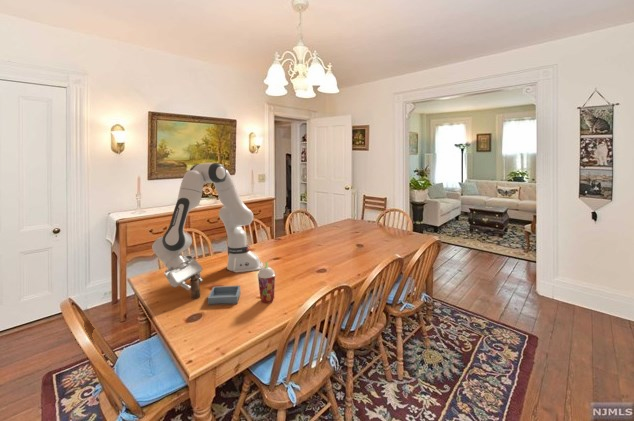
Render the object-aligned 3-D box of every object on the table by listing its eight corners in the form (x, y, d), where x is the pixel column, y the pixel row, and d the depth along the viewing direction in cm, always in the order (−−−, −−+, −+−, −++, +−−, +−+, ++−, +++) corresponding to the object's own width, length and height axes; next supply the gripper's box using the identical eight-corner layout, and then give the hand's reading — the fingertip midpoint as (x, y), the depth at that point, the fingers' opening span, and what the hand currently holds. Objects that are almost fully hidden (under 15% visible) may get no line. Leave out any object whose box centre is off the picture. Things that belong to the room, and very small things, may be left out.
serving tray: (240, 292, 163) (240, 285, 163) (237, 303, 151) (237, 296, 150) (213, 293, 162) (213, 286, 161) (208, 305, 149) (207, 298, 149)
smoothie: (276, 296, 159) (275, 258, 155) (275, 304, 150) (273, 264, 147) (260, 296, 158) (258, 259, 155) (257, 304, 150) (256, 265, 146)
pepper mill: (200, 295, 160) (199, 272, 158) (198, 298, 156) (197, 275, 154) (192, 295, 160) (190, 273, 158) (190, 299, 156) (188, 276, 154)
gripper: (165, 268, 147) (185, 290, 146) (193, 254, 166) (211, 273, 165) (158, 276, 149) (178, 297, 148) (187, 261, 168) (204, 281, 167)
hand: (195, 285), depth 157 cm, fingers open, 8 cm apart
